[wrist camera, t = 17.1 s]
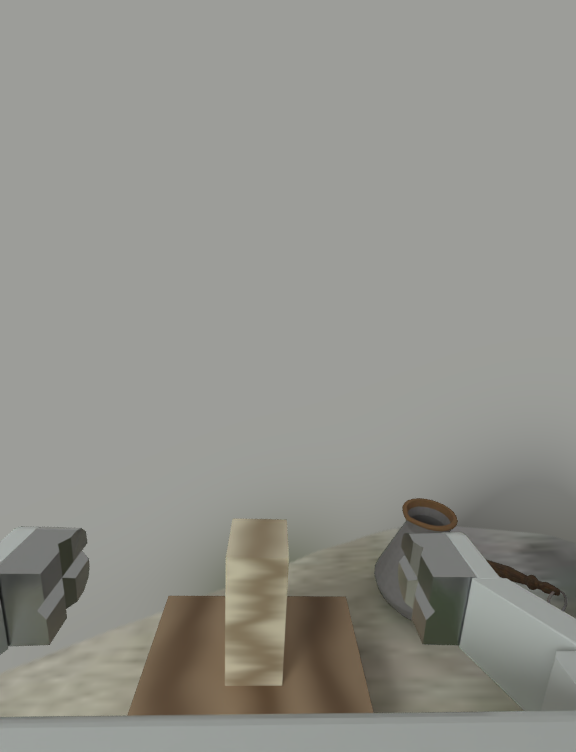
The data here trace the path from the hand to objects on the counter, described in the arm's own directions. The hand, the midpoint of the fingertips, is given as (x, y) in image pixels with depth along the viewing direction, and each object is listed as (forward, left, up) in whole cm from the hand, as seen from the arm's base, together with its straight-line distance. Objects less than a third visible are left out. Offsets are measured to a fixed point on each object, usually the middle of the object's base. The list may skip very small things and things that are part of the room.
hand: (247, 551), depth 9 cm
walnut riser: (0, +19, -32) cm, 37 cm away
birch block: (0, +19, -27) cm, 33 cm away
